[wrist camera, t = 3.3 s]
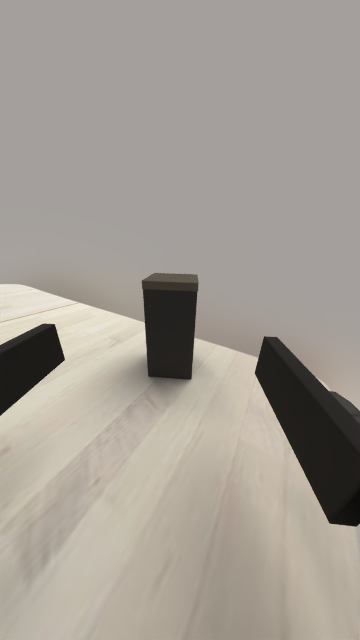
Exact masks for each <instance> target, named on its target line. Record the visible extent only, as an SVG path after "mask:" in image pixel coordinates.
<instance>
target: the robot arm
mask: <svg viewBox="0 0 360 640" xmlns="http://www.w3.org/2000/svg"><path fill="white" fill-rule="evenodd" d="M64 360H65V358H64V354H63V351H62V348H61V344H60V341H59V337H58V334H57V330H56V327H55V324H42V325H40V326H38V327H35V328H33V329H31V330H29V331H27V332H25V333H23V334H21V335H19V336H17V337H15V338H13V339H11V340H9V341H7V342H5V343H3V344H1V345H0V416H1V415H2V414H3V413H4V412H5V411H6V410H8V409H9V408H10V407H11V406H12V405H13V404H14V403H16V402H17V401H18V400H19V399H20V398H21V397H23V396H24V395H25V394H26V393H27V392H28V391H29V390H31V389H32V388H33V387H34V386H35V385H36V384H38V383H39V382H40V381H41V380H42V379H43V378H45V377H46V376H47V375H48V374H49V373H50V372H51V371H53V370H54V369H55V368H56V367H57V366H58V365H60V364H61V363H62V362H63V361H64ZM255 375H256V377H257V379H258V381H259V383H260V385H261V387H262V389H263V391H264V393H265V395H266V397H267V399H268V401H269V403H270V405H271V407H272V409H273V411H274V413H275V415H276V417H277V419H278V421H279V423H280V425H281V427H282V429H283V431H284V433H285V435H286V437H287V439H288V441H289V443H290V445H291V447H292V449H293V451H294V453H295V455H296V457H297V459H298V461H299V463H300V465H301V467H302V469H303V471H304V473H305V475H306V477H307V479H308V481H309V483H310V485H311V487H312V489H313V491H314V493H315V495H316V497H317V499H318V501H319V503H320V505H321V507H322V509H323V511H324V513H325V515H326V517H327V519H328V521H329V523H330V524H338V525H347V526H356V527H357V526H358V525H359V524H360V411H359V410H358V409H357V408H356V407H355V406H354V405H353V404H352V403H351V402H349V401H348V400H346V399H345V398H343V397H342V396H340V395H339V394H338V393H336V392H331V391H328V390H327V389H326V388H325V387H324V386H323V385H322V384H321V383H320V382H319V380H318V379H317V378H316V377H315V376H314V375H313V374H312V373H311V372H310V371H309V370H308V369H307V368H306V367H305V366H304V365H303V364H302V363H301V362H300V361H299V360H298V359H297V358H296V356H295V355H294V354H293V353H292V352H291V351H290V350H289V349H288V348H287V347H286V346H285V345H284V344H283V343H282V342H281V341H280V340H279V339H278V338H277V337H264V339H263V343H262V347H261V351H260V354H259V358H258V362H257V366H256V370H255Z"/></svg>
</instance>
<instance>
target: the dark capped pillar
mask: <svg viewBox="0 0 360 640" xmlns="http://www.w3.org/2000/svg"><path fill="white" fill-rule="evenodd" d="M142 289H143V298H144V314H145V330H146V346H147V363H148V376H152V377H166V378H179V379H191V377H192V362H193V348H194V333H195V317H196V303H197V291H198V278H197V275H192V274H164V273H163V274H162V273H154V274H152V275H150V276H149V277H147V278H146V279H144V280H142Z"/></svg>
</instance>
